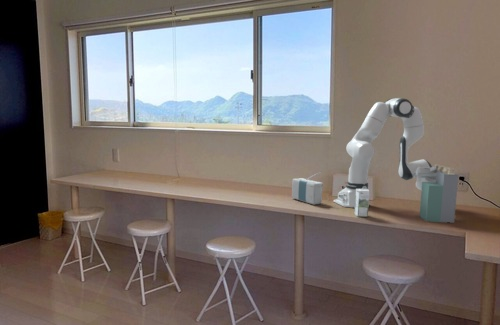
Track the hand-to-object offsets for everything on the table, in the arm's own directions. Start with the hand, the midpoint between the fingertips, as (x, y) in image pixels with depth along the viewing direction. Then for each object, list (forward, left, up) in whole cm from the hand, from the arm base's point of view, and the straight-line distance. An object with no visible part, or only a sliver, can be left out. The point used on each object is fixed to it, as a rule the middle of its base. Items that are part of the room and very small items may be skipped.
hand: (440, 167), depth 218 cm
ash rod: (+5, -3, -2) cm, 6 cm away
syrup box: (-15, -40, -27) cm, 51 cm away
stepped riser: (+6, -8, -27) cm, 29 cm away
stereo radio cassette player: (-55, -48, -27) cm, 78 cm away
